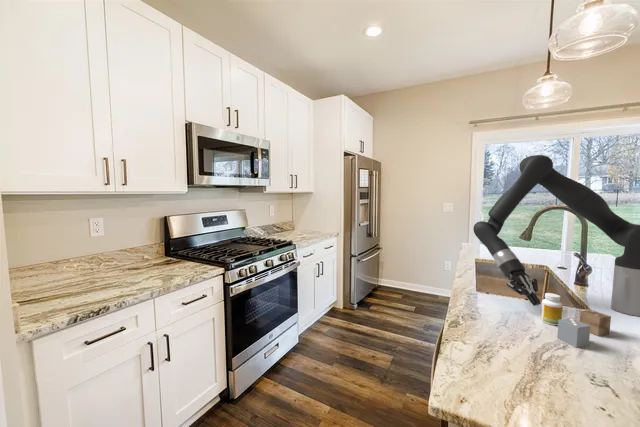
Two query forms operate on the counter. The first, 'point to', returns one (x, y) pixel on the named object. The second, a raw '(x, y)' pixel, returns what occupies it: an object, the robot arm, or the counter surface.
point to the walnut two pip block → (596, 322)
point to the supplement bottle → (551, 309)
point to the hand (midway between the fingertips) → (537, 304)
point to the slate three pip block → (573, 332)
